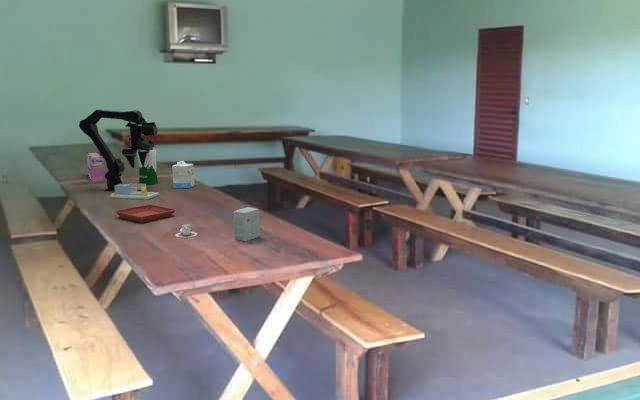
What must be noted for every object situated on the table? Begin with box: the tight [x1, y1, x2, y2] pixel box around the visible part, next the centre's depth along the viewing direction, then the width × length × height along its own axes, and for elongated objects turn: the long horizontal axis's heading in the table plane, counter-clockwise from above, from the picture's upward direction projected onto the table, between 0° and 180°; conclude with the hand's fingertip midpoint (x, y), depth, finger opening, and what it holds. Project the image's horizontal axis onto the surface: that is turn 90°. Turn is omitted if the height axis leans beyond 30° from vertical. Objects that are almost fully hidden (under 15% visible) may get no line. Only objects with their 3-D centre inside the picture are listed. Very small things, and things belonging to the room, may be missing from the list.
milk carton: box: [136, 147, 159, 186], centre depth 340 cm, size 9×9×20 cm
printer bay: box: [129, 183, 147, 192], centre depth 321 cm, size 9×10×3 cm
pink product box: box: [85, 151, 106, 181], centre depth 362 cm, size 24×8×14 cm, turn 24°
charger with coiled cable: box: [175, 223, 198, 238], centre depth 236 cm, size 9×8×4 cm
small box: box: [233, 206, 261, 242], centre depth 230 cm, size 8×6×10 cm
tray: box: [108, 191, 160, 201], centre depth 307 cm, size 21×10×2 cm, turn 77°
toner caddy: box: [114, 183, 148, 196], centre depth 307 cm, size 15×5×5 cm, turn 77°
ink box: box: [171, 160, 195, 189], centre depth 331 cm, size 9×8×13 cm
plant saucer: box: [114, 204, 177, 223], centre depth 265 cm, size 18×18×3 cm
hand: (138, 166), depth 323 cm, fingers open, 9 cm apart
